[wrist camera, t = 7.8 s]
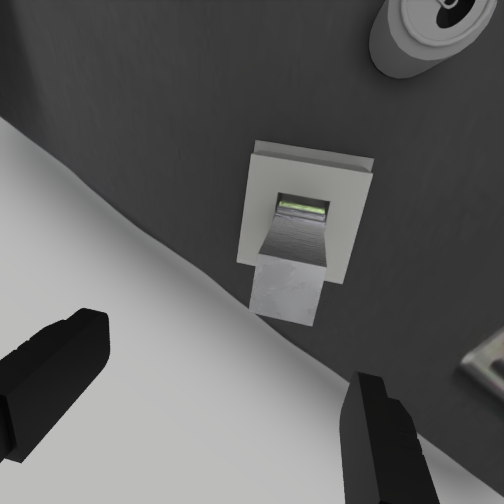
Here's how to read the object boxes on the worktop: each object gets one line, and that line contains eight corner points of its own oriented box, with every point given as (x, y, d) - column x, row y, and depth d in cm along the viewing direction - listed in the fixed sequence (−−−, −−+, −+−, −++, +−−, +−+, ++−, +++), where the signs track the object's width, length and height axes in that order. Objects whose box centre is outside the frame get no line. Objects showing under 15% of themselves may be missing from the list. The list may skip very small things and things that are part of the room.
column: (282, 197, 33) (255, 249, 19) (324, 204, 33) (331, 265, 18) (275, 236, 35) (245, 313, 20) (315, 244, 34) (314, 329, 20)
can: (399, 96, 35) (438, 79, 24) (352, 44, 34) (369, 2, 23) (462, 34, 32) (539, -18, 21) (412, -24, 31) (464, -109, 20)
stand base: (256, 139, 39) (240, 142, 31) (373, 158, 38) (389, 166, 29) (241, 245, 44) (225, 271, 36) (343, 266, 43) (350, 298, 34)
